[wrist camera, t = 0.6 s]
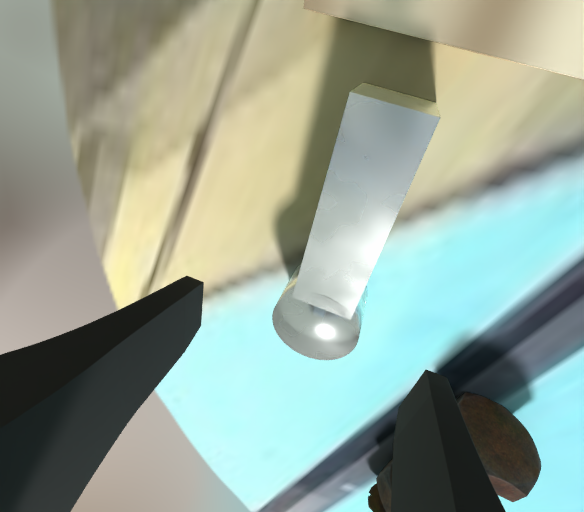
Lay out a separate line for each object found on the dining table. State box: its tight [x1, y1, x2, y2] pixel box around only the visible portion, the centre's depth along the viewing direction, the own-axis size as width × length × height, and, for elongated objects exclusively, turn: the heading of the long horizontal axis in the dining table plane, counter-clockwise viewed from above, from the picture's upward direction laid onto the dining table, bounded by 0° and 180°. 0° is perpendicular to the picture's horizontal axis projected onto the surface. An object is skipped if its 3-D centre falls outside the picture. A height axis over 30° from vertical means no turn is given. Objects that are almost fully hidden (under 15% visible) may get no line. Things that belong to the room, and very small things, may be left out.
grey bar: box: [272, 82, 440, 360], centre depth 17 cm, size 5×14×4 cm, turn 169°
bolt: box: [368, 392, 541, 512], centre depth 24 cm, size 6×5×15 cm
